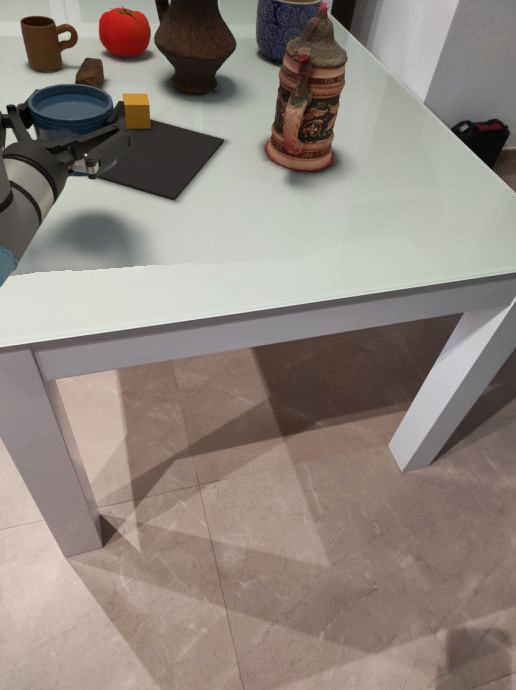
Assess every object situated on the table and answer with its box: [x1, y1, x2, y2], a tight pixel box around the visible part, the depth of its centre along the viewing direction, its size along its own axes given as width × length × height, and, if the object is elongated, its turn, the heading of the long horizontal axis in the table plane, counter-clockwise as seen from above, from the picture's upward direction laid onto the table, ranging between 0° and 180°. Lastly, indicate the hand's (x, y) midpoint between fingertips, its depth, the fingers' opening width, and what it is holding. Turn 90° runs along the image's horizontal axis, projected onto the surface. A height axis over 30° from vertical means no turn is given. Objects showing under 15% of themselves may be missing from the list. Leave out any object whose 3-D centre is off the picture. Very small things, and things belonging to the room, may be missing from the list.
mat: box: [97, 118, 225, 201], centre depth 100 cm, size 24×24×1 cm
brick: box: [74, 57, 105, 89], centre depth 114 cm, size 11×4×5 cm, turn 179°
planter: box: [255, 0, 324, 64], centre depth 135 cm, size 16×16×15 cm
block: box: [122, 92, 151, 129], centre depth 105 cm, size 5×5×5 cm
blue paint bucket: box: [27, 83, 118, 178], centre depth 73 cm, size 11×11×8 cm
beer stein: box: [264, 2, 349, 172], centre depth 97 cm, size 17×28×18 cm
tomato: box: [98, 5, 152, 58], centre depth 127 cm, size 11×13×10 cm
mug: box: [19, 15, 79, 73], centre depth 118 cm, size 12×8×9 cm, turn 100°
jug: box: [153, 0, 237, 95], centre depth 112 cm, size 21×18×30 cm
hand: (81, 104), depth 74 cm, fingers closed on blue paint bucket, 11 cm apart
